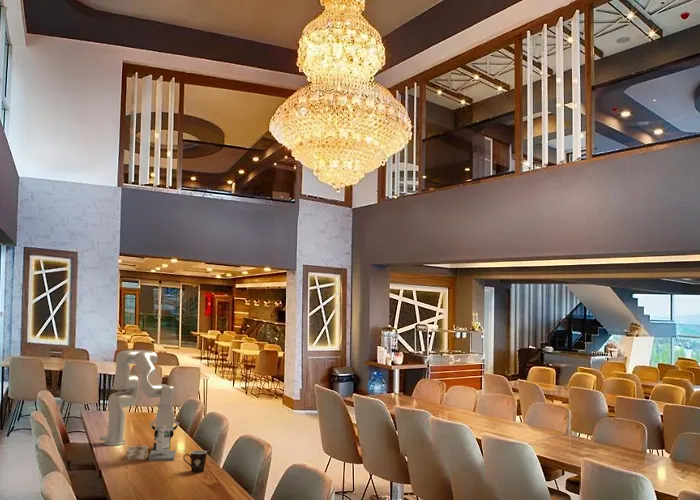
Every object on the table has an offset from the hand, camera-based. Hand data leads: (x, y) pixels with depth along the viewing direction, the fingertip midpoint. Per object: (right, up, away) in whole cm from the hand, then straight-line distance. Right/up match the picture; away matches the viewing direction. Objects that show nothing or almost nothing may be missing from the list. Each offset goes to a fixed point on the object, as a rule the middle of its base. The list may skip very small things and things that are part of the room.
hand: (163, 437), depth 340 cm
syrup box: (0, -7, -1) cm, 7 cm away
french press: (-7, -13, +17) cm, 22 cm away
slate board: (-1, -11, -1) cm, 11 cm away
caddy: (-14, -10, -5) cm, 18 cm away
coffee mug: (+26, -10, -26) cm, 38 cm away
